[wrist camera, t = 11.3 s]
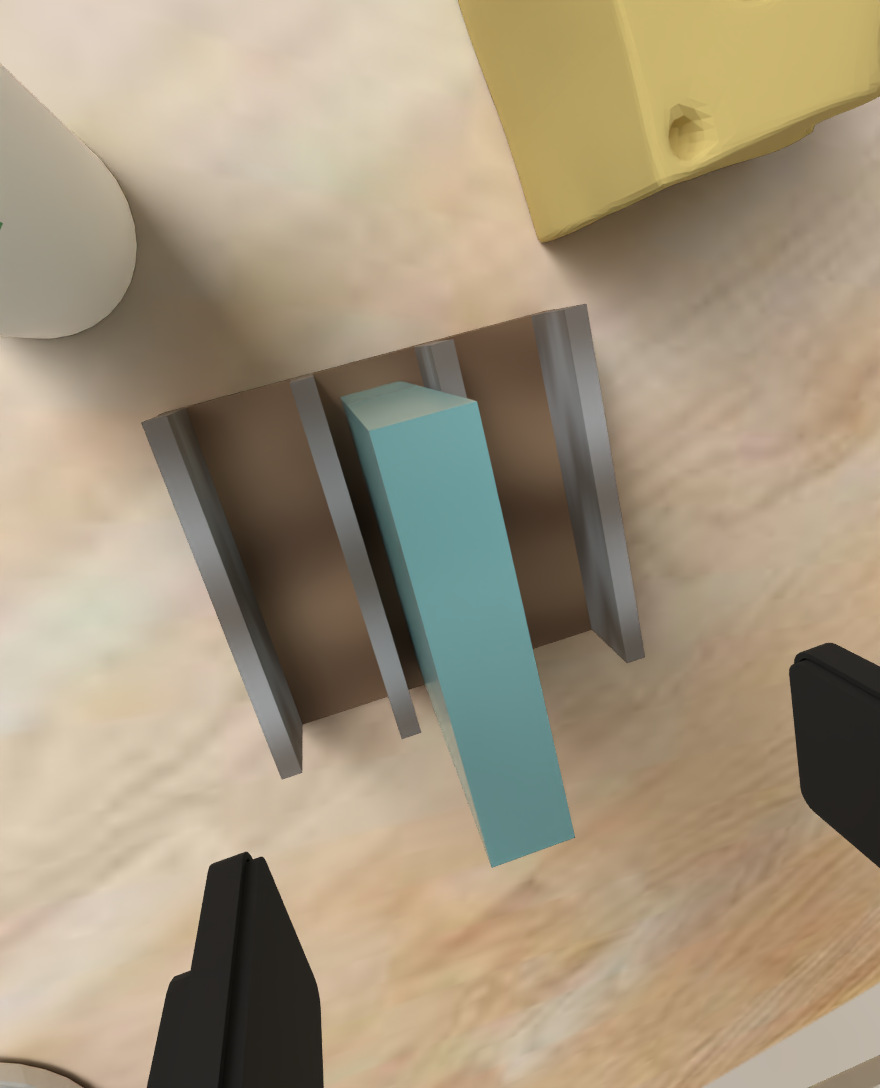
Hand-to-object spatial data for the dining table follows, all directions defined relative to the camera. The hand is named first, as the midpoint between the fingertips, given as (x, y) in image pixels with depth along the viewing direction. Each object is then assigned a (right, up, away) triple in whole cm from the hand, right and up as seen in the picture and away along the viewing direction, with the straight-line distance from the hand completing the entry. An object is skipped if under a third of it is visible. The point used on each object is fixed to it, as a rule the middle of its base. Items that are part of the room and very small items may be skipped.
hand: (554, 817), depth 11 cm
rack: (-3, +5, +17) cm, 19 cm away
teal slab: (-3, +5, +16) cm, 17 cm away
